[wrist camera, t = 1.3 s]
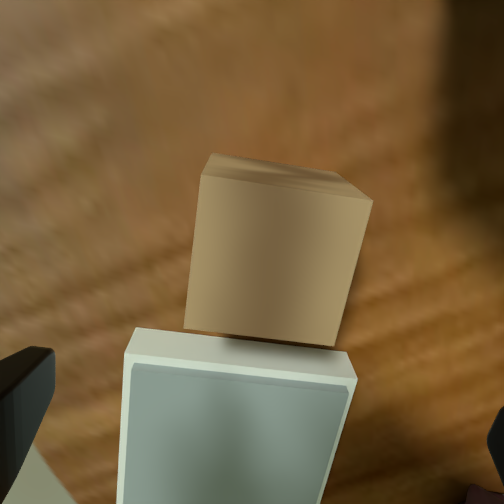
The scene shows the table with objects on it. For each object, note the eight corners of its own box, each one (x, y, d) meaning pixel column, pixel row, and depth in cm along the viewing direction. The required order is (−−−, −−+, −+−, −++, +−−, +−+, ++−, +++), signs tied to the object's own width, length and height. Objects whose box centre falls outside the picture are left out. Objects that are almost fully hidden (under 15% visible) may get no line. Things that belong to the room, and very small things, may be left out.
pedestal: (346, 351, 23) (361, 386, 20) (304, 499, 27) (311, 544, 25) (136, 327, 22) (121, 360, 19) (125, 484, 26) (112, 530, 24)
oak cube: (334, 171, 20) (373, 200, 14) (309, 282, 22) (334, 346, 16) (212, 152, 19) (200, 174, 13) (198, 267, 21) (183, 328, 16)
